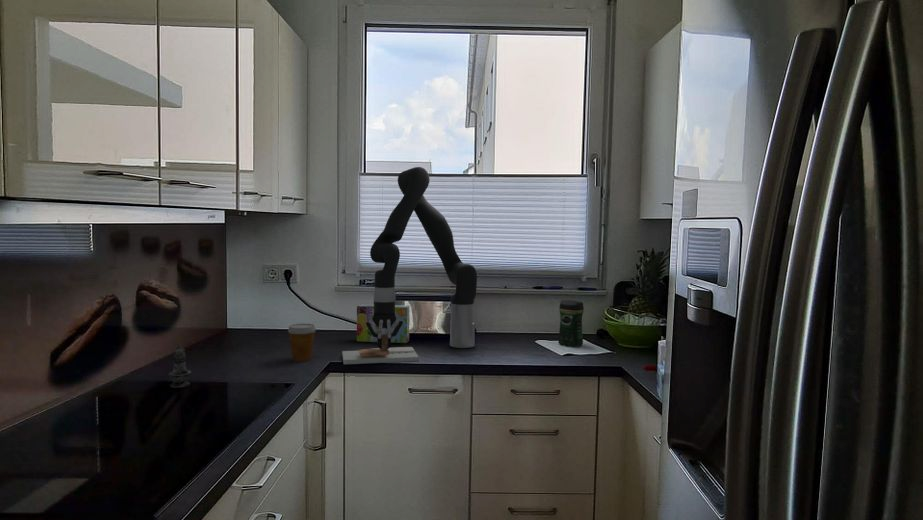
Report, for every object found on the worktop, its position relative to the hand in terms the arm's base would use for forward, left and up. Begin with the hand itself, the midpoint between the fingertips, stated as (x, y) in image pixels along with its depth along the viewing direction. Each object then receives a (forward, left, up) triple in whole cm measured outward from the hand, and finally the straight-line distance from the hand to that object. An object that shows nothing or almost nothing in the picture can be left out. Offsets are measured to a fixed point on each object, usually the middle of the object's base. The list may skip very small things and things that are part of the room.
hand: (384, 348), depth 184 cm
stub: (+4, 0, -2) cm, 4 cm away
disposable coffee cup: (+28, -6, -4) cm, 29 cm away
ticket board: (+1, -3, -4) cm, 5 cm away
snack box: (-3, -31, -5) cm, 31 cm away
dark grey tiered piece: (+61, +18, -4) cm, 64 cm away
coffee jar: (-78, -11, -4) cm, 79 cm away
